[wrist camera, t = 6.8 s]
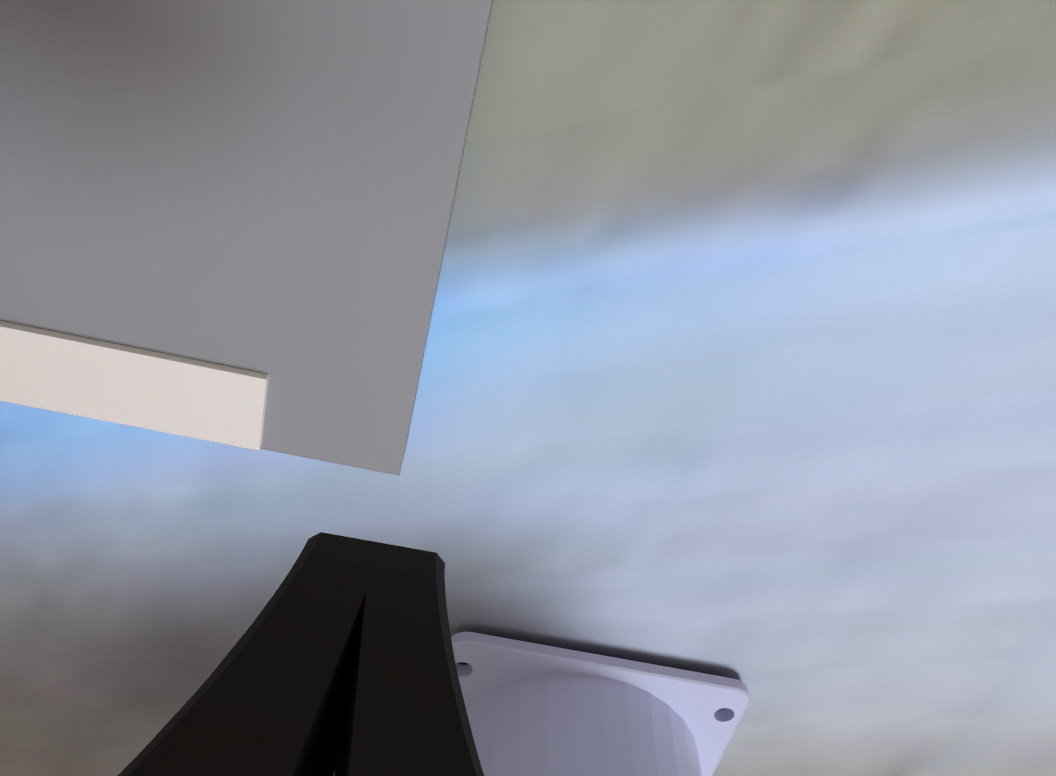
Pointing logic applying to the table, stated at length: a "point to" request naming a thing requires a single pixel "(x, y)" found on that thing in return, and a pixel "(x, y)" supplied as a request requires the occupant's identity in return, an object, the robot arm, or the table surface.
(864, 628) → the table surface
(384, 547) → the robot arm
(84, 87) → the gauge board
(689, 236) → the table surface
